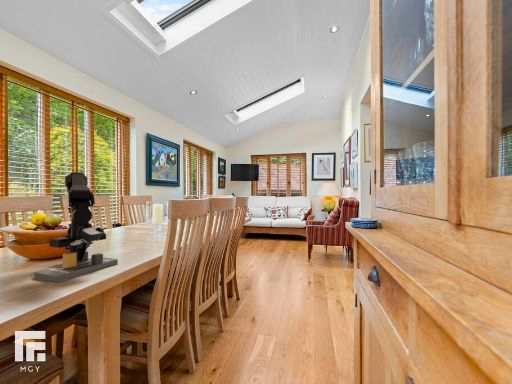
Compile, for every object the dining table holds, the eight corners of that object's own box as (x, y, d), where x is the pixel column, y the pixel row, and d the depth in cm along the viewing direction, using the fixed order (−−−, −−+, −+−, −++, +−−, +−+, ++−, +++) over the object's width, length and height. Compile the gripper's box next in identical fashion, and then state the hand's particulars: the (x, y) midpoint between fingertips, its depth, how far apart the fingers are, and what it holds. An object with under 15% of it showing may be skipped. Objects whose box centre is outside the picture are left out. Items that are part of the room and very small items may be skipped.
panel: (34, 277, 90) (34, 261, 90) (97, 260, 113) (97, 248, 113) (56, 282, 86) (56, 265, 86) (117, 263, 108) (117, 250, 108)
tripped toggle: (62, 267, 95) (62, 253, 95) (70, 265, 98) (71, 251, 98) (68, 268, 94) (68, 254, 94) (76, 265, 97) (76, 252, 97)
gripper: (69, 225, 88) (69, 270, 88) (116, 219, 105) (115, 257, 105) (48, 223, 92) (48, 266, 92) (96, 218, 109) (96, 254, 109)
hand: (79, 261), depth 99 cm, fingers closed
